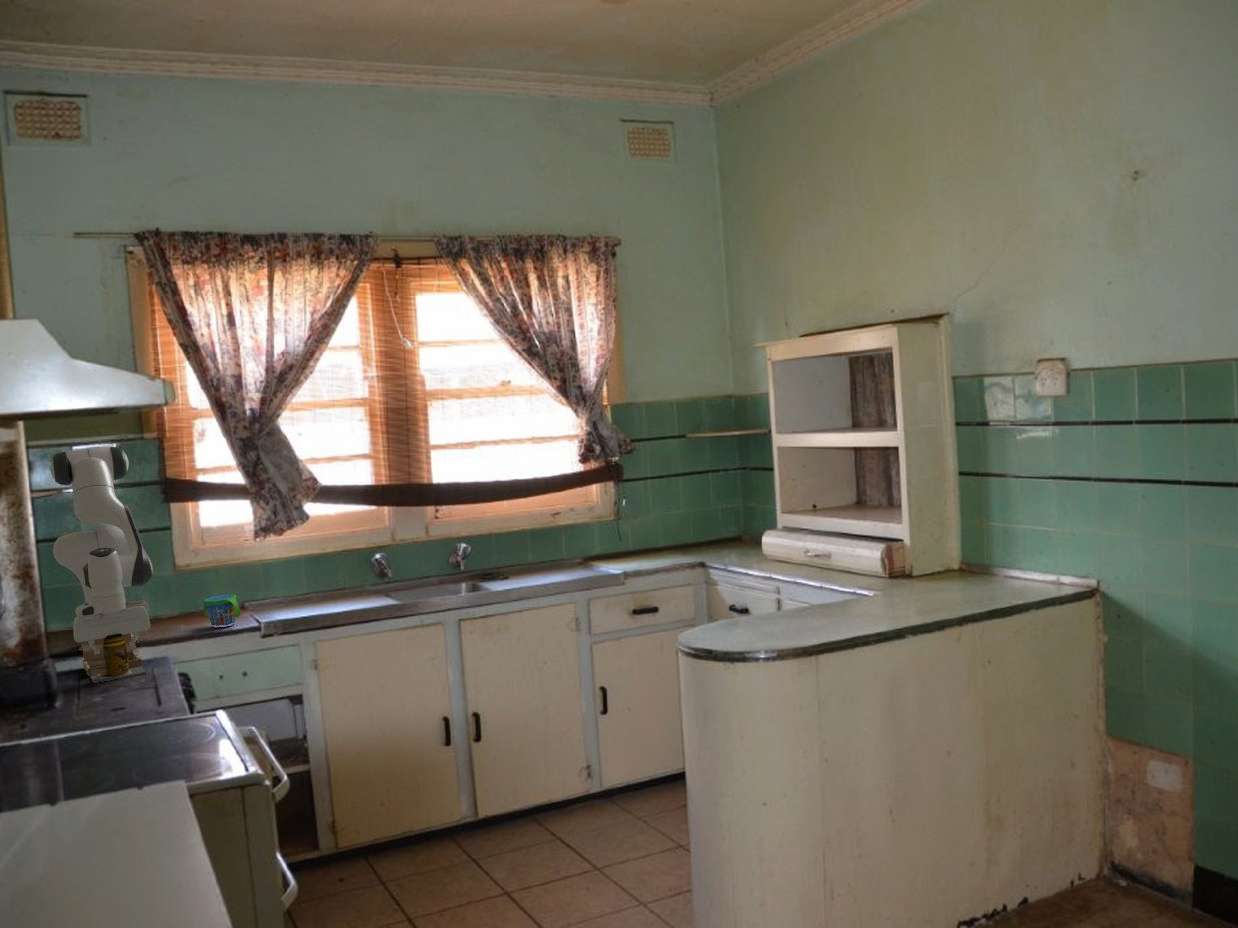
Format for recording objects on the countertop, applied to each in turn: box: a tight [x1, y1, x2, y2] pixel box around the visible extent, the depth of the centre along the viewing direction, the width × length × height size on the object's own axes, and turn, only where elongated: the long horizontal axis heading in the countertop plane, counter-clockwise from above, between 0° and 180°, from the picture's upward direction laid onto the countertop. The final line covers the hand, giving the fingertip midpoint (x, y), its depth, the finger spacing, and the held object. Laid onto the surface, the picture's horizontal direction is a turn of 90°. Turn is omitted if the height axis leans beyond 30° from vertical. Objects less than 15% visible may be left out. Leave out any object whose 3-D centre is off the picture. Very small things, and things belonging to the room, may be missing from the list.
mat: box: [89, 665, 147, 684], centre depth 321 cm, size 9×14×1 cm, turn 121°
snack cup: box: [203, 594, 241, 626], centre depth 382 cm, size 16×10×10 cm
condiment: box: [97, 634, 132, 679], centre depth 320 cm, size 7×8×12 cm
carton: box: [81, 633, 143, 677], centre depth 333 cm, size 16×15×10 cm
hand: (115, 651), depth 321 cm, fingers open, 8 cm apart
